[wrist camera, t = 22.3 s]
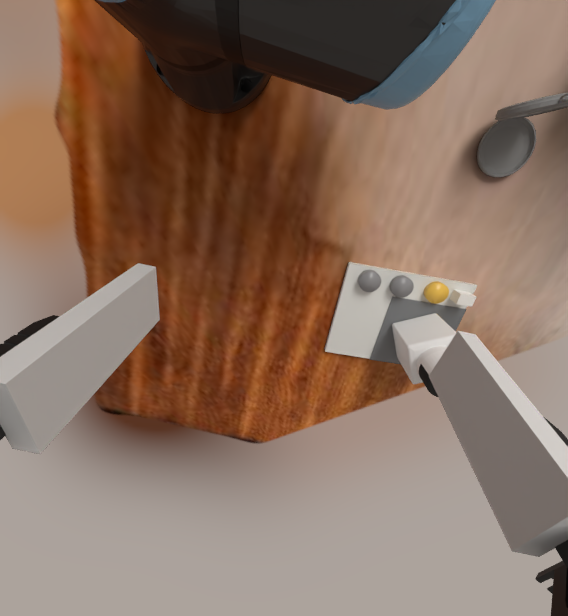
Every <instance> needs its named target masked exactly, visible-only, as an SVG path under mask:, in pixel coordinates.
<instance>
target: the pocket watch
mask: <svg viewBox="0 0 568 616" xmlns="http://www.w3.org/2000/svg"><path fill="white" fill-rule="evenodd" d="M566 107H568V93H562V94H557V95H552V96H547V97H542V98H538V99H534V100H530V101H526V102H522V103H518V104H515V105H512V106H508V107H505V108H503V109H501V110H499V111H498V112H497V114H496V118H495V119H497V120H498V122H497V123H495V124H494V125H493V126H492V127H491V128H490V129H489V130H488V131H487V132H486V133H485V135H484V136H483V138H482V140H481V142H480V144H479V147H478V152H477V161H478V165H479V167H480V169H481V170H482V172H484V173H485V174H487V175H489V176H491V177H504V176H508V175H510V174H512V173H514V172H516V171H517V170H519V169H520V168H521V167H522V166H523V165H524V164H525V163H526V162H527V160H528V159H529V158H530V156H531V155H532V153H533V150H534V148H535V143H536V130H535V128H534V125H533V124H532V123H531V122H530V121H529V120H528V119H526V118H524V117H529V116H533V115H538V114H542V113H547V112H551V111H555V110H559V109H563V108H566Z"/></svg>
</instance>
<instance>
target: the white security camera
mask: <svg viewBox="0 0 568 616" xmlns="http://www.w3.org/2000/svg"><path fill="white" fill-rule="evenodd" d="M392 329H393V335H394V341H395V347H396V354H397V358H398V360H399V361H400V363H401V365H402V367H403V368H404V370H405V372H406V373H407V375H408V377H409V379H410V380H411V382H412V383H413V384H418V383H422V382H423V383H424V384H425V386H426V387H427V389H428V391H429V392H430V393H431V394H433V395H434V396H436V397H438V395H437V393H436V391H435V389H434V387H433V384H432V382H431V380H430V378H429V375H430V373H431V372H432V370H433V369H434V367H435V365H436V364H437V362H438V361H439V359H440V358H441V356H442V355H443V353H444V351H445V350H446V348H447V347H448V345H449V344H450V342H451V341H452V339H453V337H454V336H455V334H456V333H457V332H456V331H455V330H454V329H453V328H452V327H451V326H450V325H448V324H447V323H446V322H445V321H444V320H443V319H442V318H441V317H440V316H439V315H438V314H436V313H433V314H429V315H425V316H421V317H417V318H413V319H408V320H404V321H400V322H396V323H393V324H392Z"/></svg>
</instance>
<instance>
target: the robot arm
mask: <svg viewBox="0 0 568 616" xmlns="http://www.w3.org/2000/svg"><path fill="white" fill-rule="evenodd" d="M95 1H96V2H97V3H98V4H99V5H100V6H101V7H102V8H104V9H105V10H106V11H107V12H108V13H109V14H110V15H112V16H113V17H114V18H115V19H116V20H117V21H118V22H119V23H121V24H122V25H123V26H124V27H125V28H126V29H127V30H128V31H130V32H131V33H132V34H133V35H134V36H135V37H136V38H138V39H139V40H140V41H141V42H142V44H143V46H144V49H145V51H146V54H147V56H148V58H149V60H150V62H151V64H152V66H153V68H154V69H155V71H156V73H157V74H158V75H159V77H160V78H161V79H162V81H163V82H164V83H165V84H166V86H167V87H168V88H169V89H170V90H171V91H172V92H173V93H175V94H176V95H177V96H178V97H180V98H181V99H182V100H184V101H185V102H186V103H188V104H190V105H191V106H193V107H195V108H197V109H199V110H202V111H205V112H209V113H229V112H233V111H236V110H239V109H241V108H243V107H245V106H246V105H248V104H249V103H250V102H252V101H253V100H254V99H255V98H256V97H257V96H258V95H259V94H260V93H261V91H262V90H263V89H264V87H265V86H266V84H267V82H268V81H269V79H270V77H271V75H273V76H276V77H279V78H282V79H285V80H288V81H291V82H294V83H297V84H300V85H304V86H307V87H310V88H313V89H316V90H319V91H322V92H325V93H328V94H331V95H334V96H337V97H340V98H342V100H343V101H345V102H347V103H349V104H351V103H354V104H359V103H363V104H366V105H370V106H374V107H378V108H382V109H396V108H399V107H403V106H405V105H407V104H409V103H411V102H412V101H414V100H415V99H417V98H418V97H419V96H421V95H422V94H423V93H424V92H425V91H426V90H428V89H429V88H430V87H431V86H432V85H433V84H434V83H435V82H436V81H437V79H438V78H439V77H440V76H441V75H442V74H443V73H444V72H445V71H446V69H447V68H448V67H449V66H450V65H451V64H452V62H453V61H454V60H455V59H456V57H457V56H458V55H459V54H460V52H461V51H462V50H463V48H464V47H465V46H466V44H467V43H468V42H469V40H470V39H471V38H472V36H473V35H474V33H475V32H476V30H477V29H478V27H479V26H480V25H481V23H482V22H483V20H484V19H485V17H486V15H487V14H488V12H489V11H490V9H491V8H492V6H493V4H494V3H495V1H496V0H95ZM159 320H160V318H159V304H158V289H157V274H156V267H154V266H149V265H144V264H140V263H138V264H136V265H135V266H133V267H132V268H130V269H129V270H127V271H126V272H125V273H123V274H122V275H120V276H119V277H117V278H116V279H114V280H113V281H111V282H110V283H108V284H107V285H105V286H104V287H102V288H101V289H99V290H98V291H97V292H95V293H94V294H92V295H91V296H89V297H88V298H86V299H85V300H83V301H82V302H80V303H79V304H77V305H76V306H74V307H73V308H71V309H70V310H69V311H67V312H66V313H64V314H63V315H61V316H55V315H53V316H50V317H47V318H45V319H42V320H40V321H37V322H34V323H32V324H31V325H29V326H28V327H26V328H25V329H23V330H21V331H20V332H18V334H17V335H14V336H12V337H10V338H9V339H8V340H6V341H4V344H0V440H1V439H2V438H3V437H4V436H6V438H7V440H8V441H9V443H10V445H11V447H12V448H13V449H17V450H22V451H27V452H32V453H37V454H41V453H42V452H43V451H44V450H45V449H46V448H47V446H48V445H49V444H50V443H51V442H52V441H53V440H54V438H55V437H56V436H57V435H58V434H59V433H60V432H61V431H62V429H63V428H64V427H65V426H66V425H67V424H68V423H69V421H71V419H72V418H73V417H74V416H75V415H76V414H77V413H78V411H79V410H80V409H81V408H82V407H83V406H84V405H85V404H86V402H87V401H88V400H89V399H90V398H91V397H92V396H93V395H94V393H95V392H96V391H97V390H98V389H99V388H100V387H101V385H102V384H103V383H104V382H105V381H106V380H107V379H108V378H109V376H110V375H111V374H112V373H113V372H114V371H115V370H116V369H117V367H118V366H119V365H120V364H121V363H122V362H123V361H124V359H125V358H126V357H127V356H128V355H129V354H130V353H131V352H132V350H133V349H134V348H135V347H136V346H137V345H138V344H139V343H140V341H141V340H142V339H143V338H144V337H145V336H146V335H147V333H148V332H149V331H150V330H151V329H152V328H153V327H154V326H155V324H156V323H157V322H158V321H159ZM429 378H430V380H431V382H432V384H433V387H434V389H435V391H436V393H437V395H438V397H439V399H440V401H441V403H442V405H443V407H444V410H445V412H446V414H447V416H448V418H449V420H450V422H451V424H452V426H453V428H454V431H455V433H456V435H457V437H458V439H459V441H460V443H461V445H462V447H463V449H464V452H465V454H466V456H467V458H468V460H469V462H470V464H471V466H472V468H473V470H474V473H475V475H476V477H477V479H478V481H479V483H480V485H481V487H482V489H483V491H484V494H485V496H486V498H487V500H488V502H489V504H490V506H491V508H492V510H493V512H494V515H495V517H496V519H497V521H498V523H499V525H500V527H501V529H502V531H503V533H504V535H505V538H506V540H507V542H508V544H509V546H510V548H511V550H512V551H514V552H518V553H523V554H528V555H533V556H538V557H540V556H541V555H543V554H545V553H547V552H548V551H550V550H552V549H554V548H556V550H557V551H558V553H559V555H560V557H561V558H562V560H563V561H561V562H560V563H558V564H555V565H553V566H551V567H549V568H548V569H546V570H544V571H542V572H540V573H538V575H537V577H536V580H537V581H538V582H540V583H542V582H544V581H545V580H548V579H550V578H552V579H554V582H553V586H551V587H549V588H548V590H549V591H550V592H551V593H552V594H553V595H552V608H551V616H568V439H567V438H566V437H565V436H564V434H563V433H562V432H561V431H560V430H559V429H557V428H556V427H555V426H554V425H553V424H551V423H550V422H549V421H548V420H547V419H546V418H544V417H543V416H542V415H541V414H540V412H539V411H538V410H537V409H536V408H535V406H534V405H533V404H532V403H531V402H530V400H529V399H528V398H527V397H526V395H525V394H524V393H523V392H522V391H521V390H520V388H519V387H518V386H517V385H516V383H515V382H514V381H513V380H512V379H511V377H510V376H509V375H508V374H507V372H506V371H505V370H504V369H503V368H502V366H501V365H500V364H499V363H498V361H497V360H496V359H495V358H494V357H493V355H492V354H491V353H490V352H489V350H488V349H487V348H486V347H485V346H484V344H483V343H482V342H481V341H480V340H479V338H478V337H477V336H476V335H475V334H471V333H466V332H461V331H457V333H456V334H455V336H454V337H453V339H452V341H451V342H450V344H449V345H448V347H447V348H446V350H445V351H444V353H443V355H442V356H441V358H440V359H439V361H438V362H437V364H436V365H435V367H434V369H433V370H432V372H431V373H430V375H429Z"/></svg>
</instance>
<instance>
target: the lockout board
mask: <svg viewBox="0 0 568 616" xmlns="http://www.w3.org/2000/svg"><path fill="white" fill-rule="evenodd" d="M476 287H477V285H475V284H472V283H467V282H461V281H455V280H450V279H444V278H438V277H433V276H427V275H421V274H415V273H410V272H404V271H398V270H393V269H387V268H381V267H376V266H370V265H364V264H358V263H353V262H348V266H347V269H346V273H345V277H344V280H343V284H342V287H341V291H340V295H339V298H338V302H337V306H336V309H335V313H334V316H333V320H332V324H331V327H330V331H329V335H328V338H327V342H326V345H325V352H331V353H337V354H343V355H349V356H356V357H362V358H368V359H370V360H377V361H383V362H389V363H395V364H401V363H400V361H399V360H398V358H397V354H396V347H395V341H394V335H393V329H392V324H393V323H396V322H400V321H404V320H408V319H413V318H417V317H421V316H425V315H429V314H433V313H436V314H438V315H439V316H440V317H441V318H442V319H443V320H444V321H445V322H446V323H447V324H448V325H450V326H451V327H452V328H453V329H454V330H455V331H456V329H457V327H458V325H459V323H460V321H461V319H462V317H463V315H464V313H465V311H466V307H467V306H471V307H472V305H473V303H474V301H475V299H476V296H474V295H473V293H474V291H475V289H476Z"/></svg>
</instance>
